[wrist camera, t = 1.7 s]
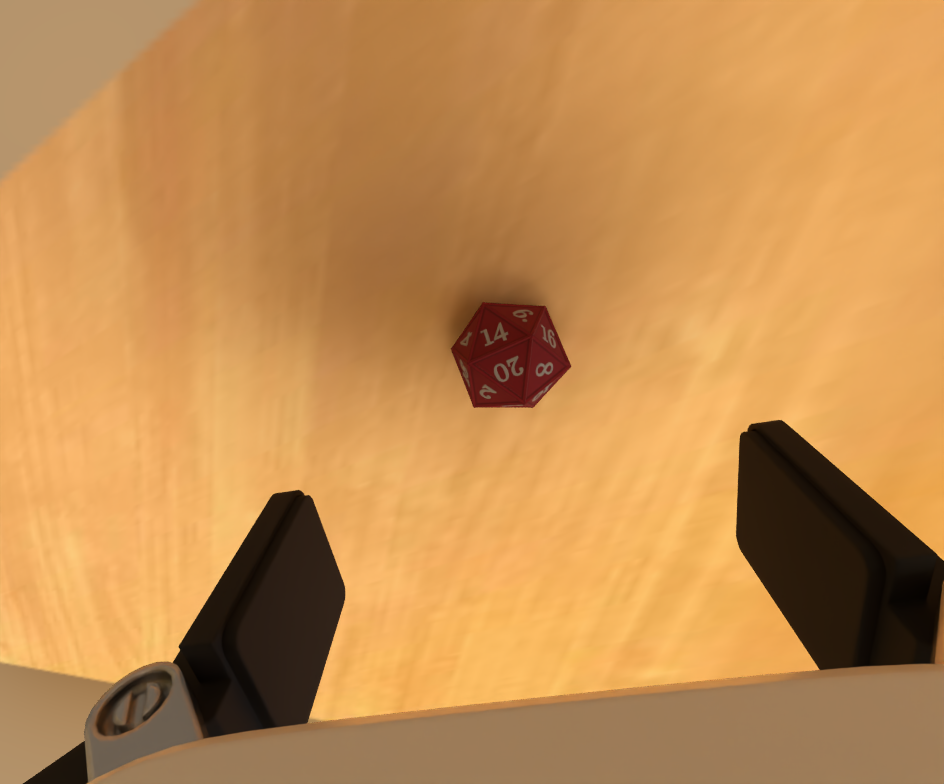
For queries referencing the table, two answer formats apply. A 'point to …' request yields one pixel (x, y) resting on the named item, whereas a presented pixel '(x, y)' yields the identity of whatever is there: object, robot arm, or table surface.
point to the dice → (509, 355)
